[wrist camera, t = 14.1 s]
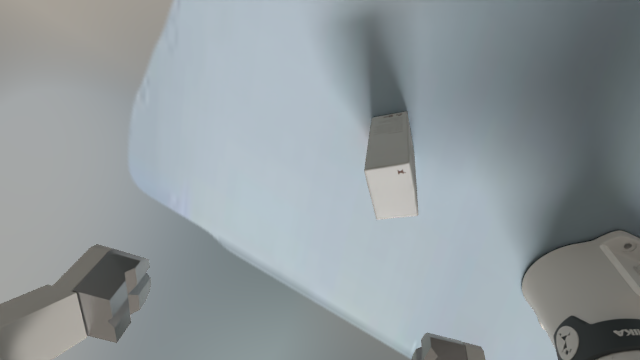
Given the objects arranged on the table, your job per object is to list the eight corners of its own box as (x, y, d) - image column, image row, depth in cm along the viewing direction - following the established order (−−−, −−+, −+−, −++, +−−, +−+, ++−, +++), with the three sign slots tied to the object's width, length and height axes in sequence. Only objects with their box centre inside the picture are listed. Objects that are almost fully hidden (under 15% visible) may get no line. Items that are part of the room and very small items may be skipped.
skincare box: (370, 116, 45) (362, 168, 35) (407, 109, 44) (411, 161, 34) (379, 162, 48) (375, 221, 38) (415, 156, 47) (420, 216, 37)
